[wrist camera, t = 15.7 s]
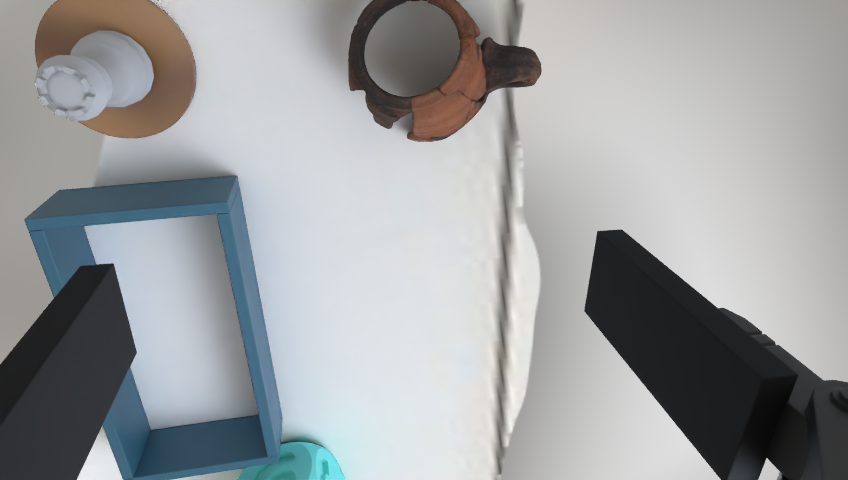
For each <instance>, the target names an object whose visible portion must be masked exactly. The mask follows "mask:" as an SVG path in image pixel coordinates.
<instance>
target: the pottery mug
mask: <svg viewBox="0 0 848 480" xmlns="http://www.w3.org/2000/svg"><path fill="white" fill-rule="evenodd" d="M406 1H419V0H373V1H372V2H371V3H370V4H369V5H368V6H367V7H366V8H365V9H364V10H363V12H362V14H361V15H360V17H359V19H358V21H357V24H356V25H355V27H354V30H353V32H352V35H351V42H350V47H349V54H348V56H349V58H348V62H349V86H350V90H351V91H354V90H364V91H365V92H366V103H367V107H368V109H369V110H370V112H371V113H372V114H373V117H374V120H375V122H376V123H378V124H380V125H381V126H383V127H385V128H387V129H390V128H391V127H392V125H393V123H394V122H396V121H398V120H399V119H400V118H401V117H403V116H405V115H407V114H409V113H411V112H412V120H413V130H412V132H409V133H408V134H407V138H408V139H410V140H413V141H418V142H424V141H426V142H432V141H438V140H442V139H445V138H447V137H449V136H450V135H452V134H454V133H455V132H457V131H458V130H459V129H461V128H462V127H463V126H464V125H465V124H466V123H468V122H469V121H470V120H471V119H472V118H473V117H474V116H475V115H476V114H477V112H478V111H479V110H480V109H481V107H482V106H483V104H484V103H485V102H486V98H487V96H488V94H489V93H491V92H492V91H494V90H496V89H499V88H507V87H527V86H532V85H534V84H535V83H536V81H537V79H538V78H539V76H540V75H541V63H540V61H539V59H538V57H537V55H536V53H535V52H534V51H533V50H531V49H529V48H525V47H518V46H503V45H499V44H497V43H495V42H494V41H493V40H492V38H490V37H488V38H486V39H484V40H483V42H482V44H481V47H480V46H479V45H478V44H477V41H476V39H475V38H476V37H478V36H479V35H480V30H479V28H478V27H477V25H476V23H475V22H474V21H473V19H472V18H471V17H470V16H469V14H468V13H467V11H466V10H465V9H464V8H463V7H462V6H461V5H460V4H459V3H458V2H457V1H456V0H423V1H427V2H428V3H430V4H433V5H435V6H437V7H439V8H441V9H442V10H444V11H445V12H446V13H447V14H448V15H449V16H450V17H451V19H452V20H453V22H454V24H455V26H456V28H457V30H458V35H459V39H460V50H459V55H458V59H457V62H456V64H455V66H454V68H453V70H452V72H451V73H450V75H449V76H448V77H447V79H446V80H445V81H444V82H442V83H441V84H440V85H439V86H438V87H436V88H435V89H433V90H431V91H429V92H427V93H425V94H421V95H417V96H412V97H401V96H396V95H393V94H390V93H388V92H386V91H384V90H383V89H381V88H380V87H379V86H378V85H377V84H376V83H375V82H374V81H373V80H372V79H371V77H370V76H369V74H368V71H367V68H366V65H365V59H364V51H365V44H366V40H367V37H368V34H369V32H370V30H371V29H372V27H373V26H374V24H375V23H376V22H377V20H378V19H379V18H380V17H381V16H382V15H383V14H384V13H385V12H387V11H389V10H390V9H392V8H394V7H395V6H398V5H400V4H402V3H405V2H406Z"/></svg>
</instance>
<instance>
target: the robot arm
mask: <svg viewBox="0 0 848 480" xmlns="http://www.w3.org/2000/svg"><path fill="white" fill-rule="evenodd" d="M585 312H586V314H587V315H588V316H589V317H590V319H591V320H592V321H593V322H594V324H595V325H596V326H597V327H598V328H599V330H600V331H601V332H602V333H603V335H604V336H605V337H606V338H607V340H608V341H609V342H610V343H611V344H612V345H613V347H614V348H615V349H616V351H617V352H618V353H619V354H620V356H621V357H622V358H623V359H624V360H625V362H626V363H627V364H628V365H629V367H630V368H631V369H632V370H633V372H634V373H635V374H636V375H637V376H638V378H639V379H640V380H641V382H642V383H643V384H644V385H645V386H646V388H647V389H648V390H649V391H650V393H652V395H653V396H654V398H655V399H656V400H657V401H658V402H659V404H660V405H661V406H662V407H663V408H664V410H665V411H666V412H667V414H668V415H669V416H670V417H671V418H672V420H673V421H674V422H675V423H676V425H677V426H678V427H679V428H680V430H681V431H682V432H683V433H684V434H685V436H686V437H687V438H688V439H689V441H690V442H691V443H692V444H693V446H694V447H695V448H696V449H697V451H698V452H699V453H700V454H701V456H702V457H703V458H704V459H705V460H706V462H707V463H708V464H709V465H710V466H711V468H712V469H713V470H714V472H715V473H716V474H717V475H718V476H719V477H720V479H721V480H758V478H759V476H760V473H761V471H762V468H763V466H764V463H765V460H766V458H768V459H769V460H770V461H771V463H772V464H773V465H774V466H775V467H776V468H777V469H778V470H779V471H780V473H779V476H778V478H777V480H848V382H842V381H837V380H829V381H828V380H827V381H824V380H822V379H821V378H820V377H818V376H817V375H816V374H815V373H813V372H812V371H811V370H809V369H808V368H807V367H806V366H805V365H803V364H802V363H801V362H799V361H798V360H797V359H796V358H794V357H793V356H792V355H791V354H789V353H788V352H787V351H786V350H784V349H783V348H782V347H781V346H779V345H775V342H774V341H773V340H772V339H770V338H769V337H768V336H767V335H765V334H762V331H760V330H759V329H758V328H756V327H755V326H754V325H753V324H751V323H750V322H749V321H748V320H746V319H745V318H743V317H741V316H739V315H737V314H735V313H733V312H731V311H729V310H727V309H725V308H717V307H716V306H714V305H713V304H712V303H711V302H709V301H708V300H707V299H706V298H705V297H703V296H702V295H701V294H700V293H699V292H697V291H696V290H695V289H694V288H692V287H691V286H690V285H689V284H688V283H686V282H685V281H684V280H683V279H681V278H680V277H679V276H678V275H677V274H675V273H674V272H673V271H672V270H670V269H669V268H668V267H667V266H666V265H664V264H663V263H662V262H661V261H659V260H658V259H657V258H656V257H654V256H653V255H652V254H651V253H649V252H648V251H647V250H646V249H645V248H643V247H642V246H641V245H640V244H639V243H637V242H636V241H635V240H634V239H633V238H631V237H630V236H629V235H628V234H627V233H625V232H624V231H623V230H608V231H598V232H597V237H596V244H595V250H594V256H593V262H592V268H591V274H590V280H589V286H588V292H587V299H586V304H585ZM136 353H137V352H136V348H135V344H134V340H133V336H132V333H131V329H130V325H129V321H128V317H127V313H126V310H125V306H124V302H123V298H122V294H121V291H120V287H119V283H118V279H117V275H116V271H115V268H114V264H99V265H84V266H80V267H79V268H78V269H77V271H76V272H75V273H74V274H73V276H72V277H71V278H70V279H69V280H68V282H67V283H66V284H65V285H64V287H63V288H62V289H61V290H60V292H59V293H58V294H57V295H56V297H55V298H54V299H53V300H52V301H51V303H50V304H49V305H48V307H47V308H46V309H45V310H44V311H43V313H42V314H41V315H40V316H39V318H38V319H37V320H36V321H35V323H34V324H33V325H32V326H31V327H30V329H29V330H28V331H27V332H26V334H25V335H24V336H23V337H22V338H21V340H20V341H19V342H18V344H17V345H16V346H15V347H14V348H13V350H12V351H11V352H10V353H9V355H8V356H7V357H6V358H5V360H4V361H3V362H2V363H1V364H0V480H77V478H78V476H79V473H80V471H81V469H82V467H83V465H84V463H85V461H86V459H87V456H88V454H89V452H90V450H91V448H92V446H93V444H94V442H95V440H96V437H97V435H98V433H99V431H100V429H101V427H102V425H103V423H104V421H105V418H106V416H107V414H108V412H109V410H110V408H111V406H112V404H113V401H114V399H115V397H116V395H117V393H118V391H119V389H120V387H121V385H122V382H123V380H124V378H125V376H126V374H127V372H128V370H129V368H130V366H131V363H132V361H133V359H134V357H135V355H136Z"/></svg>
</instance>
